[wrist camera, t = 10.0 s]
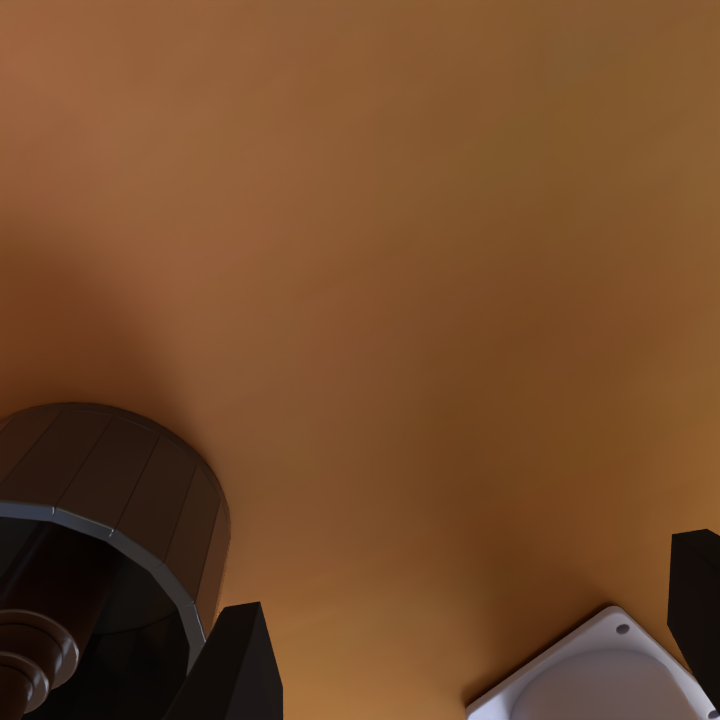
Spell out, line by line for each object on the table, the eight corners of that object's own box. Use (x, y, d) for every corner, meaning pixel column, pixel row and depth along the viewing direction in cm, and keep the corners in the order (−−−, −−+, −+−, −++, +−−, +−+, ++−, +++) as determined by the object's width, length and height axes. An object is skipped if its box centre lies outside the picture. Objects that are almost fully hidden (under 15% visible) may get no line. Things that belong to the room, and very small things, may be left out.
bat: (148, 534, 21) (50, 780, 14) (92, 585, 22) (-31, 849, 14) (75, 482, 20) (-75, 715, 13) (20, 536, 21) (-156, 790, 13)
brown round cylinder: (287, 521, 22) (278, 643, 17) (115, 670, 24) (62, 818, 19) (62, 343, 19) (-28, 427, 14) (-112, 529, 21) (-246, 661, 16)
